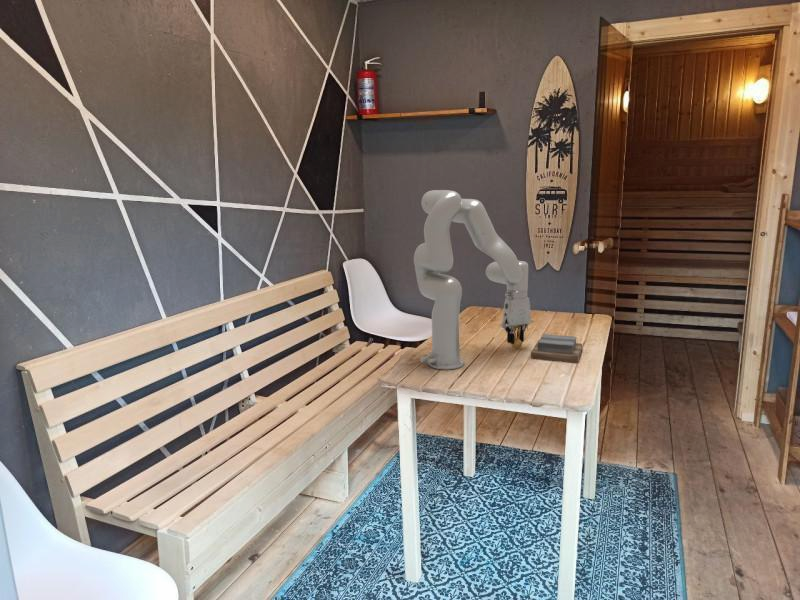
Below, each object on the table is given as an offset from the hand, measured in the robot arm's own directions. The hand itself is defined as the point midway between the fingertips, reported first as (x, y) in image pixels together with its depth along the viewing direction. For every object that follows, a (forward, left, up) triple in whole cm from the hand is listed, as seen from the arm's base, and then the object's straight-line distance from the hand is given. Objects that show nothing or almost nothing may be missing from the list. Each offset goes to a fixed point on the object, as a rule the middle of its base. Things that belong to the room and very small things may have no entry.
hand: (515, 341), depth 212 cm
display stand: (+9, -13, -3) cm, 16 cm away
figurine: (+1, 0, -3) cm, 3 cm away
